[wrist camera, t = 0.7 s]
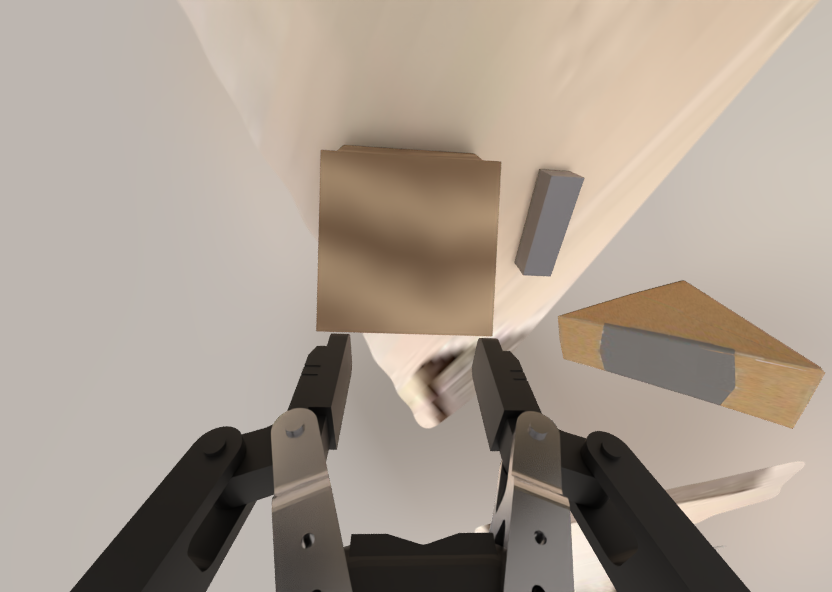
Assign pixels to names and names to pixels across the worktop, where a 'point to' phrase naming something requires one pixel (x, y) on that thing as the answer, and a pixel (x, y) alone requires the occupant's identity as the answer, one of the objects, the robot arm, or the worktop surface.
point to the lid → (407, 244)
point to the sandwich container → (692, 351)
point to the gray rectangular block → (547, 221)
